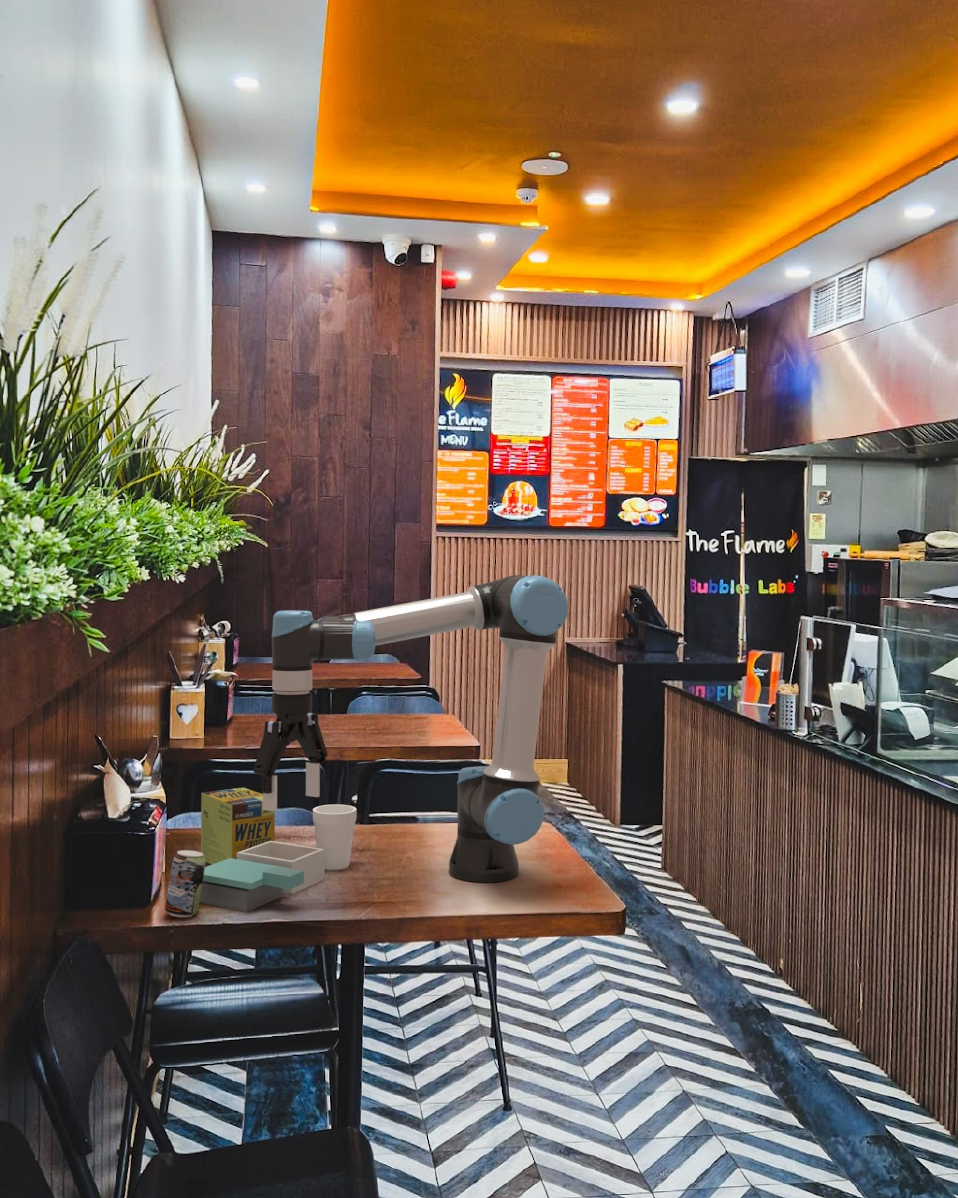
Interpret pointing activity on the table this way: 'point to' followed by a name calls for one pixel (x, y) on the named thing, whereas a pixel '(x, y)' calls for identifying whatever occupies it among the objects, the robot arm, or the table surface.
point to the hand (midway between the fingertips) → (291, 803)
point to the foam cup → (335, 833)
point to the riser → (237, 896)
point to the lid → (252, 874)
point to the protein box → (233, 823)
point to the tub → (289, 860)
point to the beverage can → (185, 883)
